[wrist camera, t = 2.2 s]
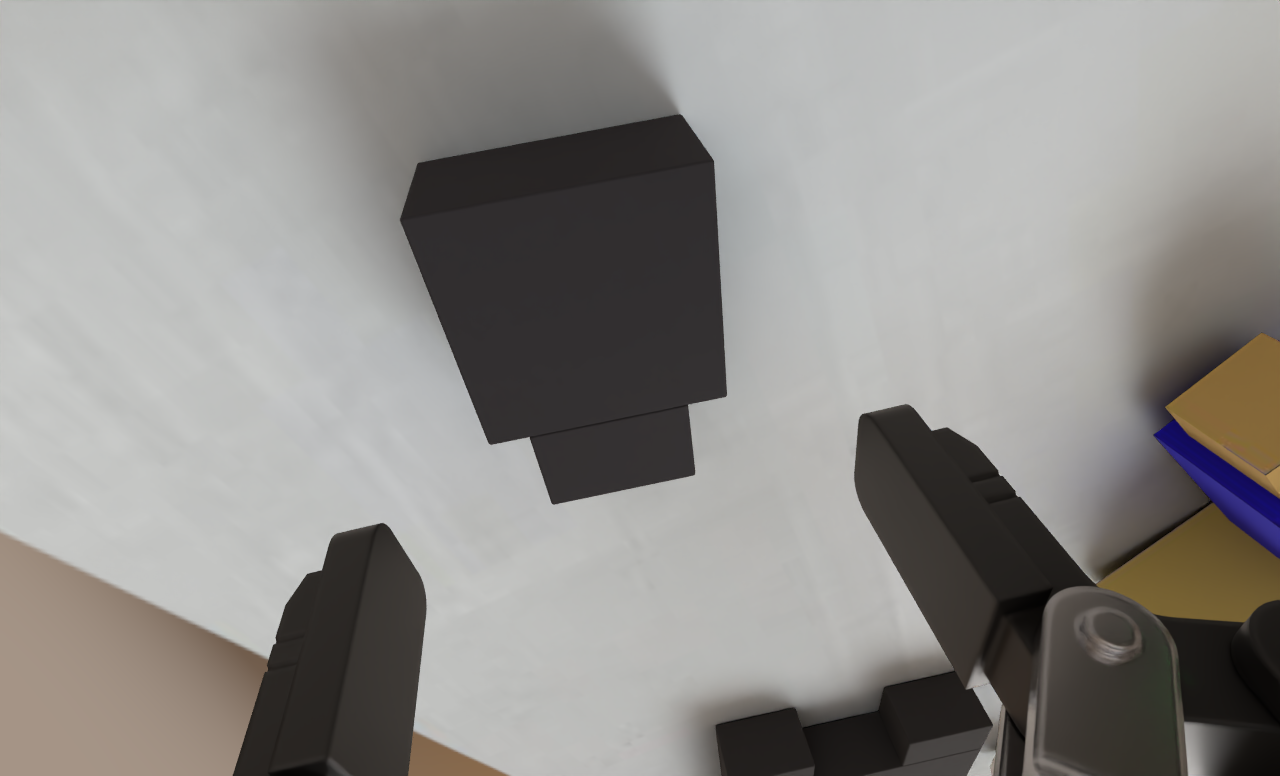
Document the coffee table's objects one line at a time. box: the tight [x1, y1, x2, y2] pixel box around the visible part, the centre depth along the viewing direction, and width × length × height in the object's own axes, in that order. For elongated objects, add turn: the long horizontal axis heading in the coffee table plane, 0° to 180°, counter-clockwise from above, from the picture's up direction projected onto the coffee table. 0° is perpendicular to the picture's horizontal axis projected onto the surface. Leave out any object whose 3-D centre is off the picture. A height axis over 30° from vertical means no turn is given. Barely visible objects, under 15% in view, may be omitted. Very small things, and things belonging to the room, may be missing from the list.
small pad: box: [400, 114, 727, 504], centre depth 16 cm, size 9×6×3 cm
